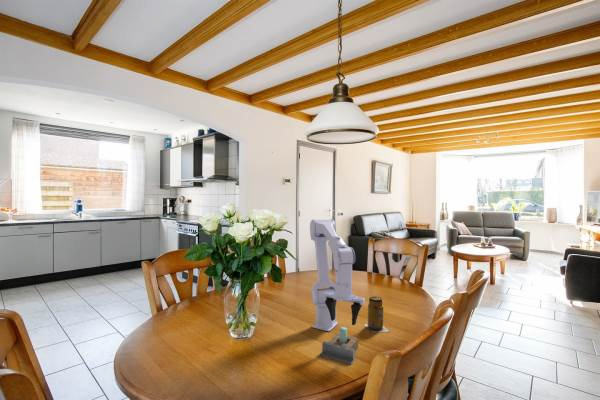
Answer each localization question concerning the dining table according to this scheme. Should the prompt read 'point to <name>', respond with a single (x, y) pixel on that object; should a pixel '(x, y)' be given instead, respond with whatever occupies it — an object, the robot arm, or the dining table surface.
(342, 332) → the dowel
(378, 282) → the dining table surface
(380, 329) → the condiment
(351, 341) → the brown hollow block
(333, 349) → the wall
